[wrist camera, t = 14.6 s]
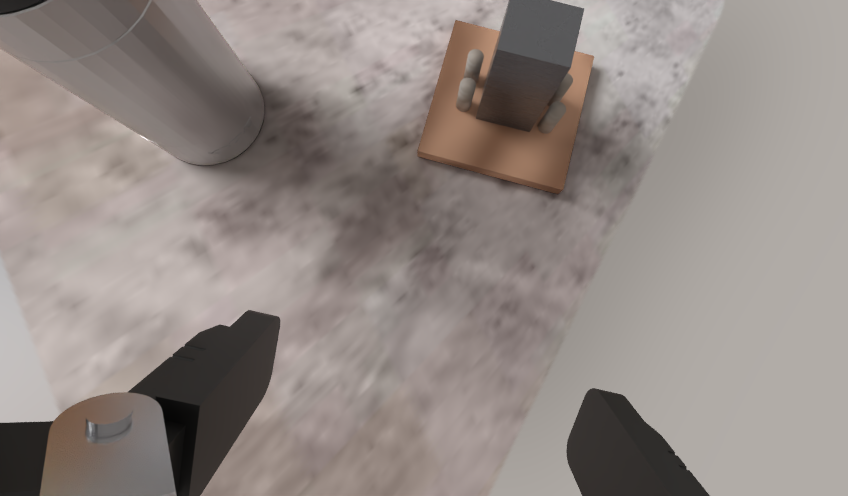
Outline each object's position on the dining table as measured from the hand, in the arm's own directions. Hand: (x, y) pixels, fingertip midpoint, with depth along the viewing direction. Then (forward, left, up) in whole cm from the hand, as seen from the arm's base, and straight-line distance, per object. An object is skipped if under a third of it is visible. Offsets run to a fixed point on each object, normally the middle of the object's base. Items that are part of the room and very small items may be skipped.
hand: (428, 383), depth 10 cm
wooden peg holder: (-8, +18, -22) cm, 29 cm away
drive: (-8, +18, -20) cm, 28 cm away
